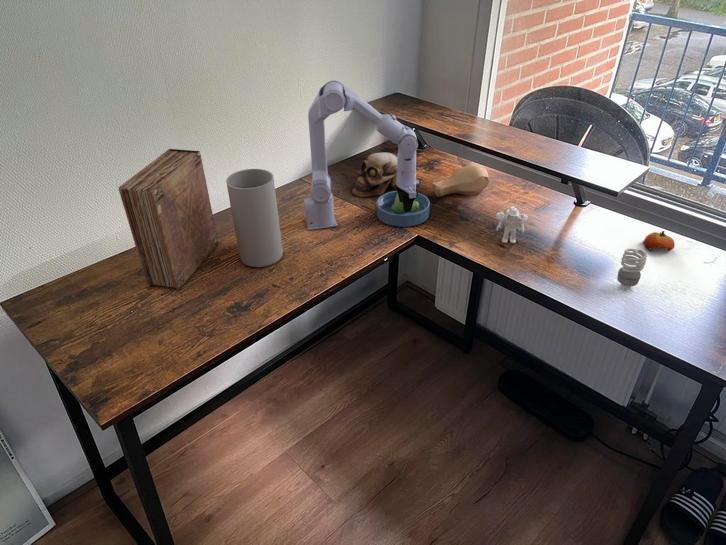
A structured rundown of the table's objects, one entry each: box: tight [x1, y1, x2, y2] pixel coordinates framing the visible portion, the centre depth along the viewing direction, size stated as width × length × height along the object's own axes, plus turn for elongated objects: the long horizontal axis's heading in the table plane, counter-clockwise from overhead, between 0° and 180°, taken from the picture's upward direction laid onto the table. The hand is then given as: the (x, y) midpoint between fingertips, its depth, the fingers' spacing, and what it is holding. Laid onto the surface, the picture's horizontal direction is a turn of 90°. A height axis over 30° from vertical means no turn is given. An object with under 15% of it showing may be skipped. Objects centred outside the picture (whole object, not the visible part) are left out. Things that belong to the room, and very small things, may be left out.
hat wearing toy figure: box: [495, 204, 528, 244], centre depth 164 cm, size 9×4×12 cm, turn 80°
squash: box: [431, 164, 490, 198], centre depth 192 cm, size 11×20×9 cm, turn 107°
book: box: [118, 148, 219, 291], centre depth 153 cm, size 25×9×30 cm, turn 167°
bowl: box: [375, 190, 431, 228], centre depth 181 cm, size 17×17×4 cm
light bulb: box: [616, 248, 648, 290], centre depth 143 cm, size 6×6×12 cm
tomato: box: [642, 230, 676, 253], centre depth 161 cm, size 8×7×7 cm
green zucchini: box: [389, 201, 419, 214], centre depth 177 cm, size 10×4×4 cm, turn 103°
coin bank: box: [351, 152, 397, 198], centre depth 195 cm, size 16×17×13 cm
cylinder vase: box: [225, 168, 284, 268], centre depth 156 cm, size 12×12×25 cm
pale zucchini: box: [394, 193, 399, 204], centre depth 183 cm, size 10×4×4 cm, turn 165°
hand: (405, 208), depth 177 cm, fingers closed on green zucchini, 3 cm apart
